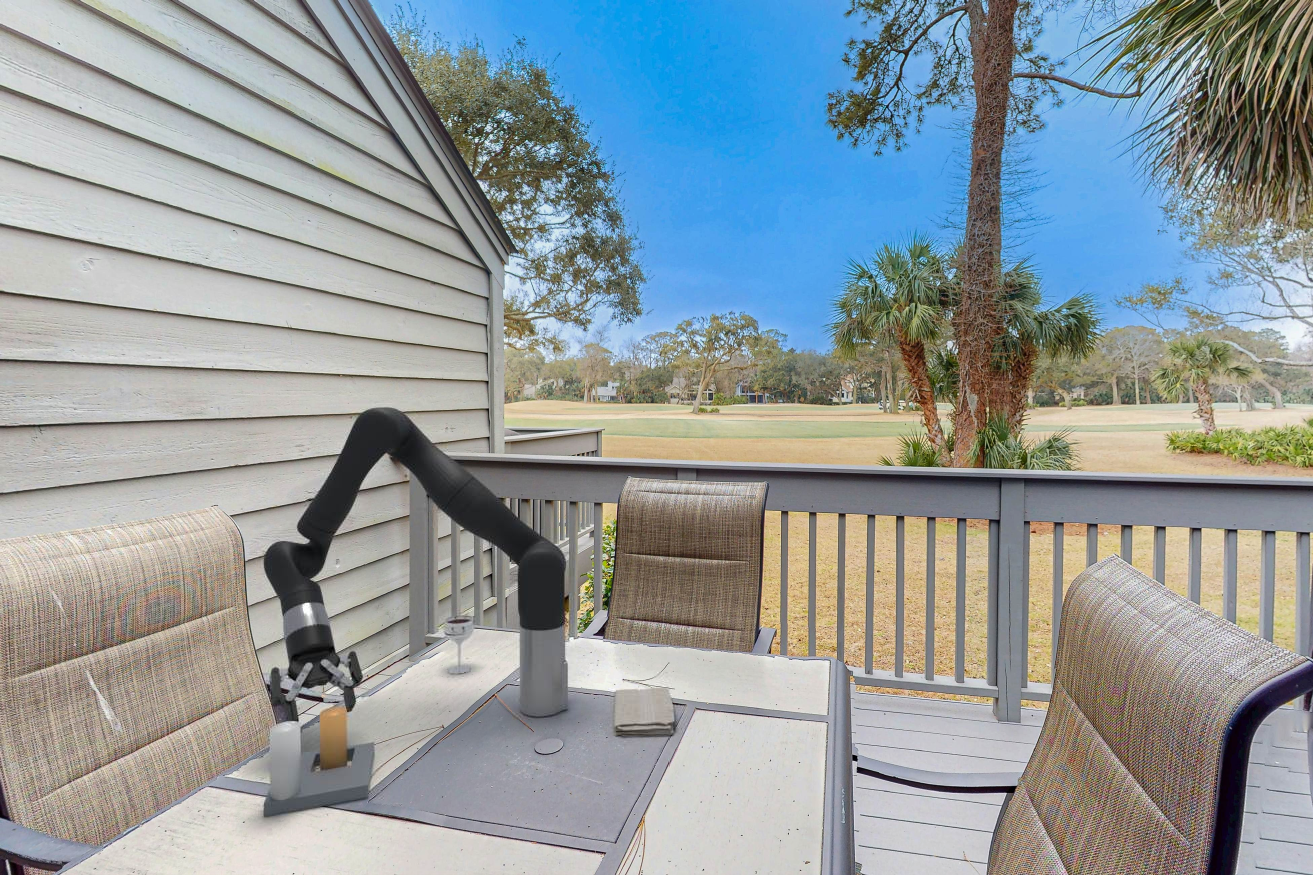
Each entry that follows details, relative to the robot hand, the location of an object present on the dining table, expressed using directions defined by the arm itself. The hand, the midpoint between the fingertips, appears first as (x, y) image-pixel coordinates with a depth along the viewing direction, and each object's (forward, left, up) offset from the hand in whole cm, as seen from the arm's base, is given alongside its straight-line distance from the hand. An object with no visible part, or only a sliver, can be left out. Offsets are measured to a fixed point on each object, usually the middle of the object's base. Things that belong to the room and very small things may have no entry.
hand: (323, 716), depth 109 cm
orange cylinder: (-2, +5, -7) cm, 9 cm away
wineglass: (-24, -33, -8) cm, 42 cm away
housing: (-1, +8, -7) cm, 11 cm away
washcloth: (-57, +3, -8) cm, 58 cm away
